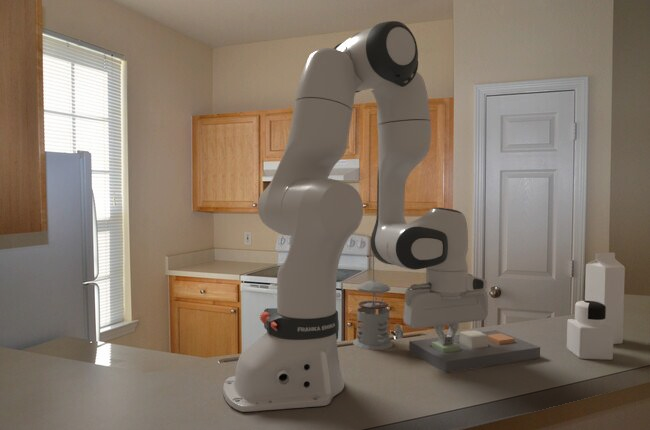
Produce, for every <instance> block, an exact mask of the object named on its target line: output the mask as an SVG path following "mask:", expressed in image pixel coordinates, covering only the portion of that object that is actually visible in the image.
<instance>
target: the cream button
mask: <svg viewBox="0 0 650 430" xmlns="http://www.w3.org/2000/svg"><path fill="white" fill-rule="evenodd" d="M481 332H482V331H478V330H476V329H474V330H473V329H472V330H466V331H464V330H463V331H460V332H459V335H460V337H459V343H460V344H462V345H464V346H466V347H468V348H470V349H476V348H483V347H488V335H486V334H483V333H481Z"/></svg>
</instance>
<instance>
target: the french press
mask: <svg viewBox="0 0 650 430" xmlns="http://www.w3.org/2000/svg"><path fill="white" fill-rule="evenodd" d="M369 246H370V247H371V242H369ZM372 255H373V257H372V262H373V263H372V280H368V281H365V282H362V283H360V284H359V285H357V287H356V289H357V290H359V291H360V292H364V293H370V294H371V293H372V300H363V301H362V300H361V301H360V302H359V303H358V306H359V308H357V315H356V316H357V318H356V321H357V323H356V324H357V325H356V327H357V329H356V331H357V333H356V338H355V339H354V340H353V342H352V344H353V345H354V346H355V347H356V348H360V349H362V350H363V349H364V350H368V351H370V350H371V351H380V350H387V349H391V348H392V347H393V346H394V342H393V341H392V340H391V339H390V309H388V308H387V307H389V304H388V303H387V302H385V301H383V300H384V296H383V293H386V292H390V291H391V287H390V286H389V285H388V284H386V283H384V282H381V281H379V280H375V255H374V254H373V253H372ZM378 293H379V294H378ZM380 296H381V300H379V301H378V300H377V297H380Z"/></svg>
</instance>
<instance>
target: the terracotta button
mask: <svg viewBox="0 0 650 430" xmlns="http://www.w3.org/2000/svg"><path fill="white" fill-rule="evenodd" d="M504 334H505V333H504ZM504 334H501V333H499V334H492V335H488V341H490V342H493V343H495V344H497V345H504V344H511V343H514V338H512V337H513V336H512V337H509V336H507V335H508V334H507V335H504Z"/></svg>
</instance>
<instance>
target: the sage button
mask: <svg viewBox="0 0 650 430" xmlns="http://www.w3.org/2000/svg"><path fill="white" fill-rule="evenodd" d="M432 348H434V349H436V350H438V351H440V352H442V353H447V352H454V351H460V345H457V344H455V343H453V344H445V345H441V344H439V342H438V341H437V342H432Z"/></svg>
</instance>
